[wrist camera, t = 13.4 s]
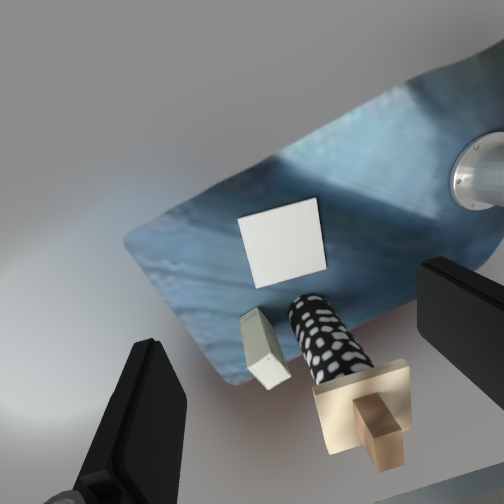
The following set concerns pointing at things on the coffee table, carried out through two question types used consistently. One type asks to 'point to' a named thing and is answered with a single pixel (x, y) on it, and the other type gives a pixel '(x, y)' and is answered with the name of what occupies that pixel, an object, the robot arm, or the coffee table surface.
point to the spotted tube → (325, 339)
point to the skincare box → (262, 349)
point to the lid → (368, 412)
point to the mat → (283, 242)
